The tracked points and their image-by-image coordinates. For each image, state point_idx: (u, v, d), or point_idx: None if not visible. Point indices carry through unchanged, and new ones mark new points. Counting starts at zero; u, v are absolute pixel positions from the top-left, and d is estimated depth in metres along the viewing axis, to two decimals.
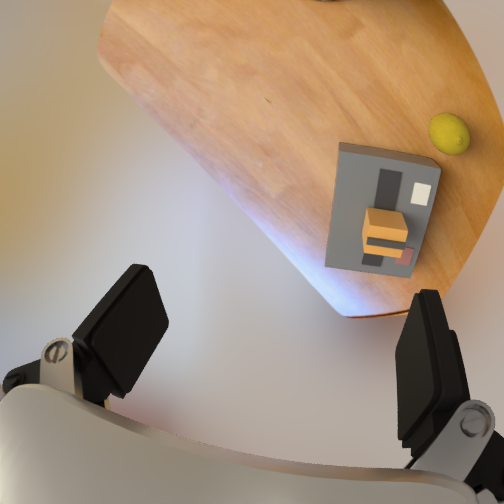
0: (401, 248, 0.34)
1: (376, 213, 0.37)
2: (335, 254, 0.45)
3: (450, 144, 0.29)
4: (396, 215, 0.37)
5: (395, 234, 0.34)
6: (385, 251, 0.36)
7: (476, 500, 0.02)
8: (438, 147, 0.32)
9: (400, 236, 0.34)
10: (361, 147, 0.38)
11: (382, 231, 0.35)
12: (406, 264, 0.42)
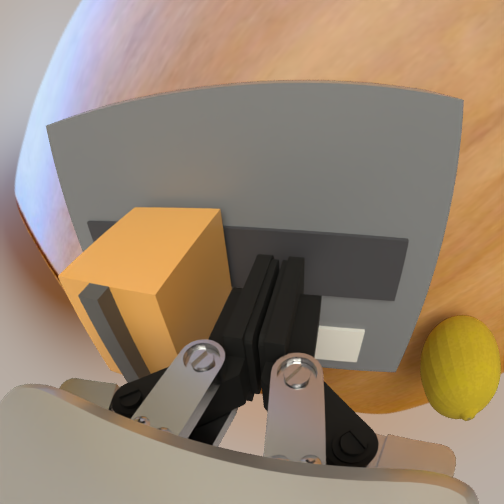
0: None
1: (210, 257, 0.11)
2: (80, 142, 0.12)
3: (463, 401, 0.12)
4: None
5: None
6: (102, 339, 0.10)
7: (476, 500, 0.02)
8: (446, 363, 0.13)
9: None
10: None
11: (152, 335, 0.09)
12: None
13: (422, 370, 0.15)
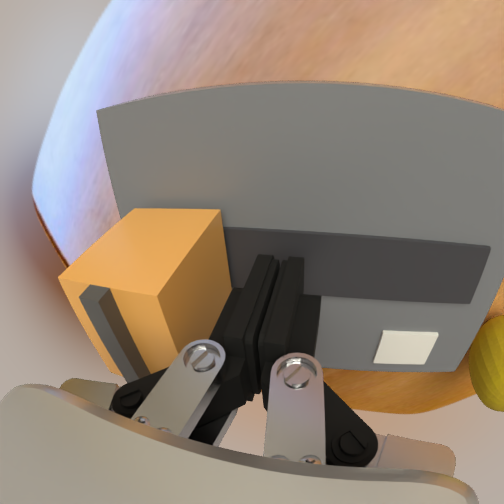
0: None
1: (210, 258, 0.11)
2: (145, 131, 0.11)
3: None
4: None
5: None
6: (102, 341, 0.10)
7: (476, 500, 0.02)
8: (498, 360, 0.13)
9: None
10: None
11: (153, 336, 0.09)
12: None
13: (473, 368, 0.15)
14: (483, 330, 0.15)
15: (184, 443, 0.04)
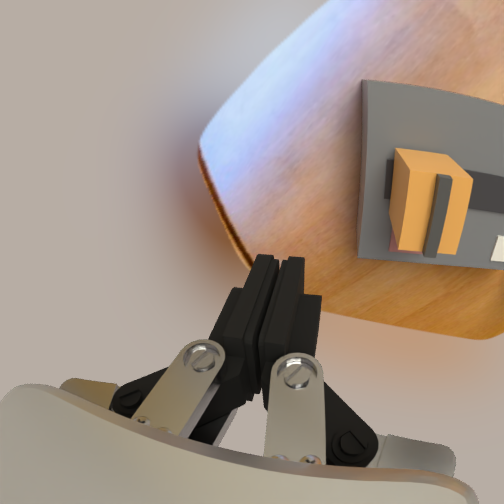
0: (428, 251, 0.16)
1: None
2: (402, 102, 0.17)
3: None
4: None
5: (451, 232, 0.15)
6: (415, 217, 0.16)
7: (476, 500, 0.02)
8: None
9: (446, 242, 0.16)
10: None
11: (458, 205, 0.14)
12: (390, 246, 0.23)
13: None
14: None
15: (184, 443, 0.04)
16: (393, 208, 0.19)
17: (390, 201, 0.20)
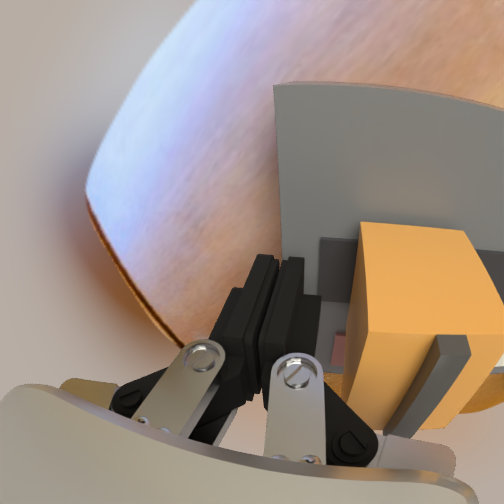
0: None
1: None
2: (349, 125, 0.09)
3: None
4: None
5: (443, 408, 0.07)
6: (372, 398, 0.07)
7: (476, 500, 0.02)
8: None
9: (430, 419, 0.07)
10: None
11: (469, 376, 0.06)
12: (332, 359, 0.15)
13: None
14: None
15: (184, 443, 0.04)
16: (348, 333, 0.11)
17: (349, 310, 0.12)
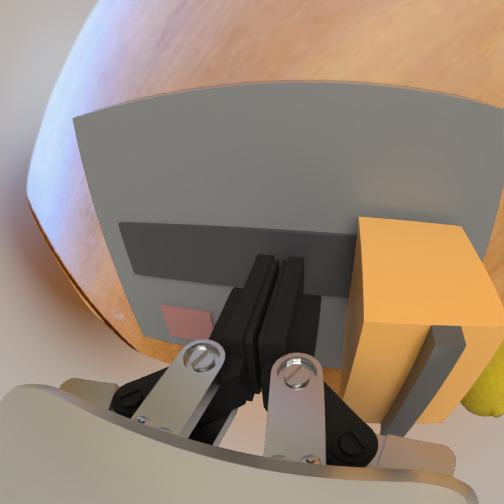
0: (388, 433, 0.08)
1: None
2: (113, 136, 0.11)
3: (494, 399, 0.11)
4: None
5: (440, 402, 0.07)
6: (369, 390, 0.07)
7: (476, 500, 0.02)
8: None
9: (428, 413, 0.08)
10: None
11: (466, 369, 0.06)
12: (170, 330, 0.17)
13: None
14: None
15: (184, 443, 0.04)
16: (347, 327, 0.11)
17: (348, 304, 0.12)
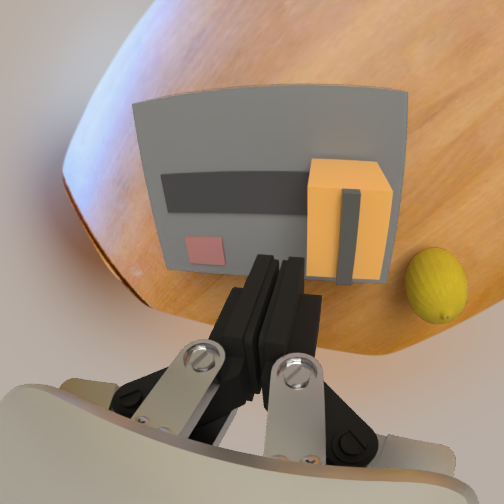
0: (340, 277, 0.15)
1: None
2: (163, 116, 0.19)
3: (440, 301, 0.19)
4: None
5: (370, 255, 0.15)
6: (321, 240, 0.15)
7: (476, 500, 0.02)
8: (422, 275, 0.20)
9: (365, 266, 0.15)
10: None
11: (376, 224, 0.14)
12: (190, 258, 0.24)
13: (406, 287, 0.22)
14: None
15: (184, 443, 0.04)
16: None
17: None
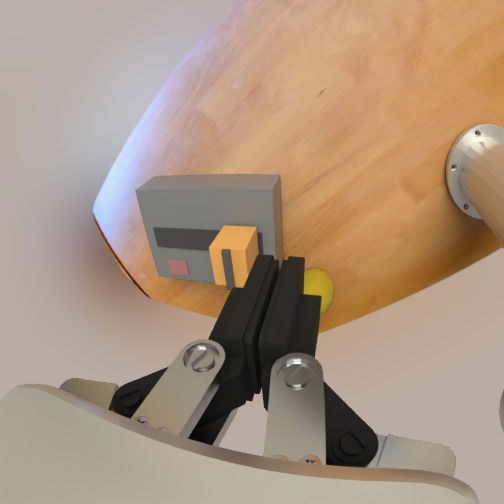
0: (228, 286, 0.34)
1: (254, 242, 0.35)
2: (152, 199, 0.38)
3: None
4: None
5: (241, 276, 0.34)
6: (218, 269, 0.34)
7: (476, 500, 0.02)
8: None
9: (240, 281, 0.34)
10: (279, 201, 0.38)
11: (240, 263, 0.33)
12: (170, 270, 0.44)
13: None
14: None
15: (184, 443, 0.04)
16: None
17: None
